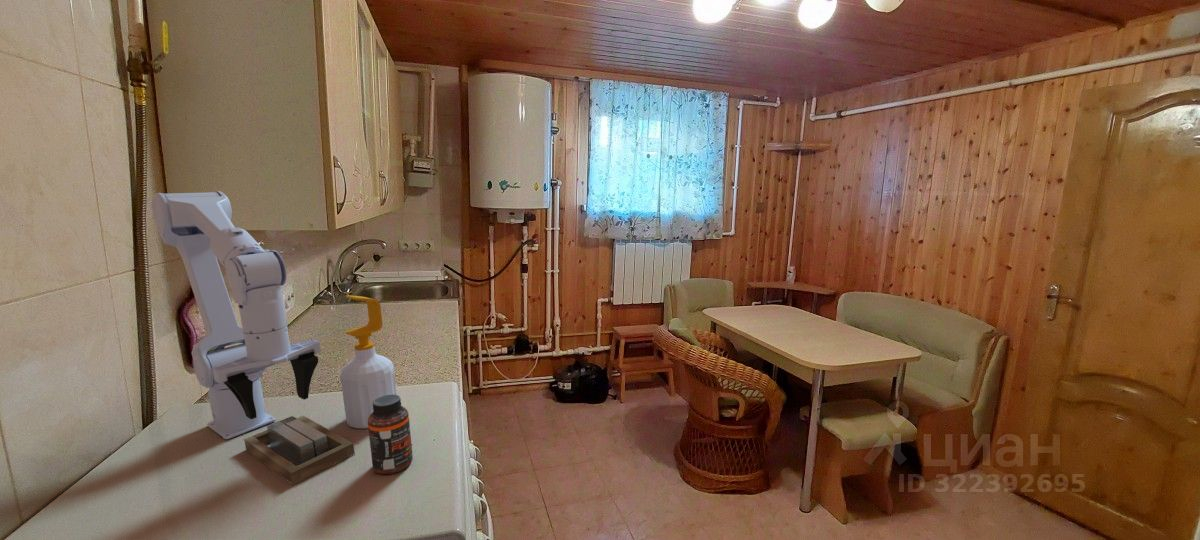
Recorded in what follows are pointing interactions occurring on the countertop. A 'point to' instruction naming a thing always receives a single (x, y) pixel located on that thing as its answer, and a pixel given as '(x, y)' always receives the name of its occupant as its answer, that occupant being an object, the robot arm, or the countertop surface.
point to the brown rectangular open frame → (306, 469)
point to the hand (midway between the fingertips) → (278, 406)
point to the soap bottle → (366, 371)
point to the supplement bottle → (389, 435)
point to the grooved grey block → (296, 440)
